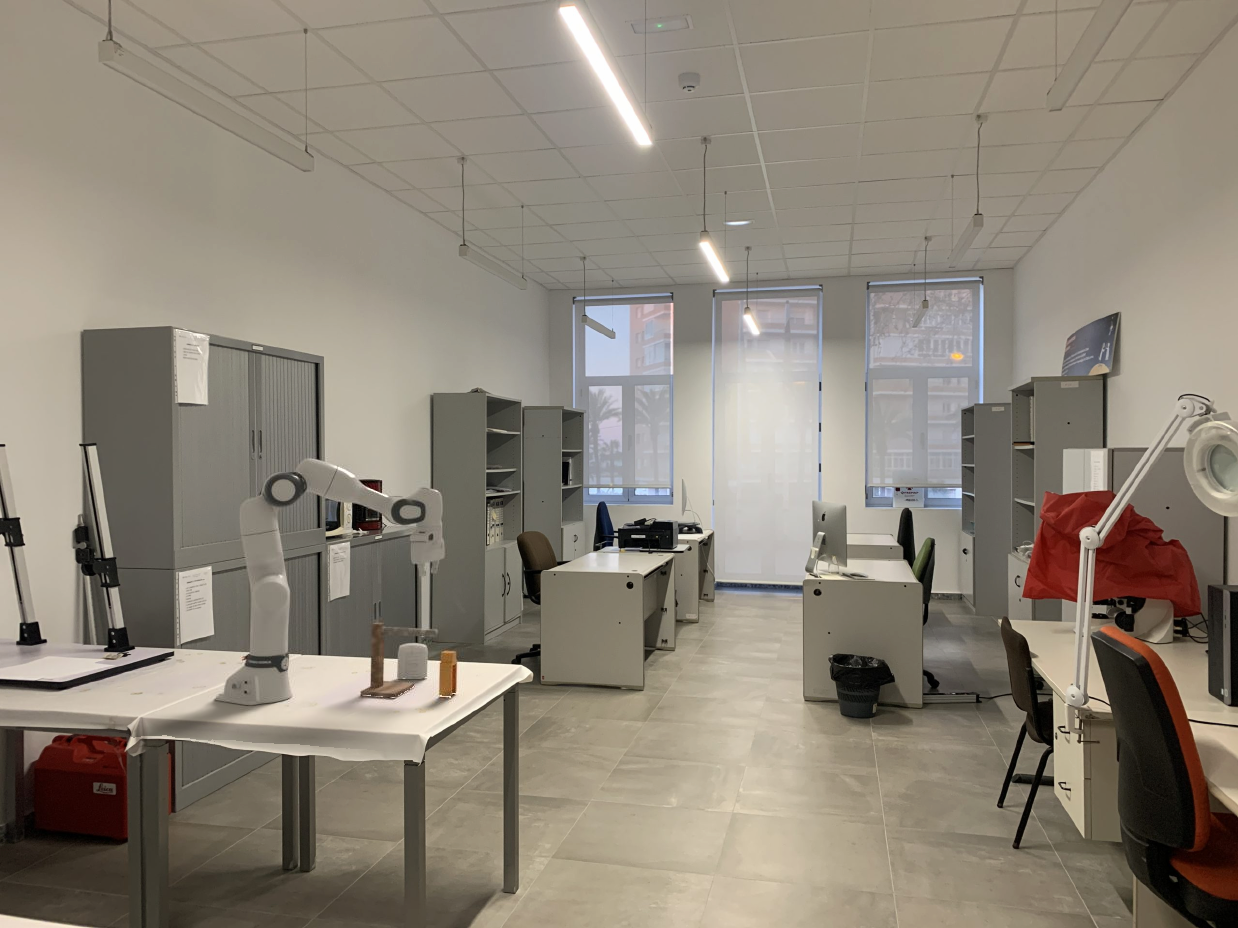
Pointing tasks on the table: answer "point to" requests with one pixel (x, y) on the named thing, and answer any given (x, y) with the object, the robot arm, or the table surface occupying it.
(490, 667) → the table surface
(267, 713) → the table surface
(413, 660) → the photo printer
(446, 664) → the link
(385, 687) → the stand
